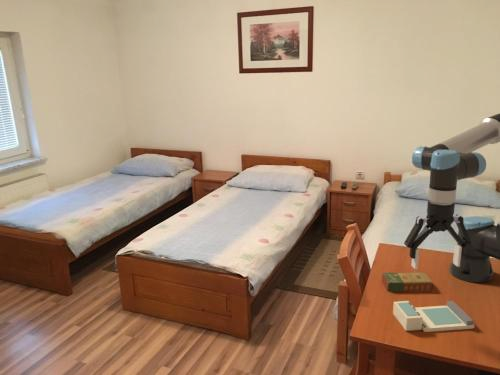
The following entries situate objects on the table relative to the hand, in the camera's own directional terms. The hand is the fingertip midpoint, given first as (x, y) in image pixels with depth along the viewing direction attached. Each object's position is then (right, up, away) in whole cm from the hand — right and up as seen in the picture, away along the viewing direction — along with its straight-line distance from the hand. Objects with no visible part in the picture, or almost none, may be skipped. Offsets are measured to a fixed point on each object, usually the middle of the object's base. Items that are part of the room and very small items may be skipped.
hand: (435, 266), depth 135 cm
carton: (0, -13, +27) cm, 30 cm away
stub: (-8, -19, +4) cm, 21 cm away
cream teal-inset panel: (+3, -18, +5) cm, 19 cm away
